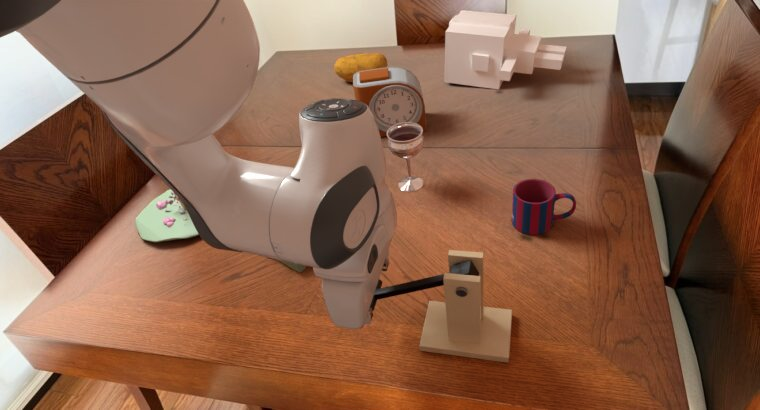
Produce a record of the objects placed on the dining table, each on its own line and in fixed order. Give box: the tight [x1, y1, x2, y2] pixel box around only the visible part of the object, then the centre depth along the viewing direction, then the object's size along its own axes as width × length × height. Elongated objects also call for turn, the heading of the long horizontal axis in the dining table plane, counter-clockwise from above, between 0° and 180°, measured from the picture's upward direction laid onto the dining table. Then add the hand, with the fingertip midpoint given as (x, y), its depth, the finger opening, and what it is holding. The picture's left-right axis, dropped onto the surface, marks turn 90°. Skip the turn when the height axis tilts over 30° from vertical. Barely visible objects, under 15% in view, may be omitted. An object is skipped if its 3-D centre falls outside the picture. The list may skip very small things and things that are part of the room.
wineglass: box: [386, 122, 425, 193], centre depth 95 cm, size 7×7×12 cm
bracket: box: [418, 249, 513, 364], centre depth 67 cm, size 12×8×14 cm, turn 76°
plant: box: [134, 187, 200, 243], centre depth 101 cm, size 25×21×9 cm
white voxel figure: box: [443, 9, 567, 90], centre depth 124 cm, size 15×25×28 cm
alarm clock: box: [352, 66, 428, 138], centre depth 112 cm, size 15×8×14 cm, turn 92°
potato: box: [333, 52, 389, 83], centre depth 136 cm, size 7×14×7 cm, turn 83°
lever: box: [370, 261, 479, 312], centre depth 67 cm, size 16×5×2 cm, turn 76°
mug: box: [511, 178, 577, 236], centre depth 83 cm, size 7×10×7 cm
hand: (374, 292), depth 71 cm, fingers open, 8 cm apart
